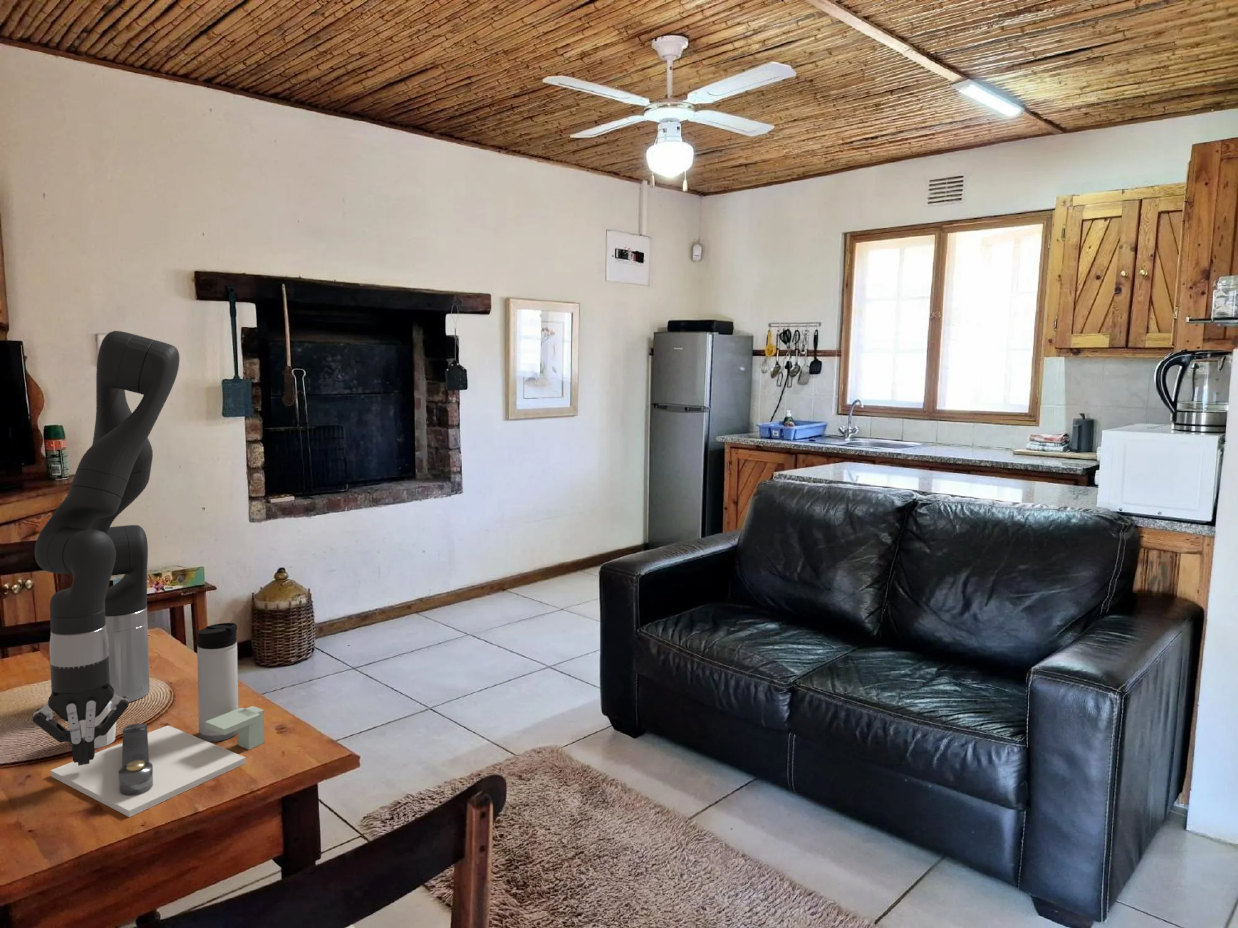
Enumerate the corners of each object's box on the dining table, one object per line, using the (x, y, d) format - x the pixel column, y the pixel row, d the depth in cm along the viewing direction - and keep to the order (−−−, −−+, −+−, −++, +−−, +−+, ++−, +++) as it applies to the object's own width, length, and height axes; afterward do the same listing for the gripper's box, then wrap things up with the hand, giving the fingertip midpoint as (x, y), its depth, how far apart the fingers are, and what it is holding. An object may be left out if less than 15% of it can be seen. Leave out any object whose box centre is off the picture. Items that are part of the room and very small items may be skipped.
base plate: (50, 776, 127) (50, 770, 127) (168, 730, 143) (168, 725, 143) (129, 817, 117) (129, 810, 117) (245, 763, 133) (245, 757, 133)
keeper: (205, 755, 135) (205, 721, 134) (249, 736, 142) (248, 704, 142) (224, 763, 133) (224, 729, 132) (268, 744, 140) (267, 711, 139)
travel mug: (224, 744, 139) (222, 632, 137) (190, 739, 140) (188, 628, 138) (247, 728, 145) (246, 621, 143) (215, 723, 147) (213, 617, 144)
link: (153, 790, 122) (152, 767, 121) (119, 797, 119) (118, 774, 119) (150, 738, 138) (149, 717, 137) (120, 743, 136) (119, 722, 135)
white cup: (113, 728, 143) (112, 691, 142) (124, 742, 138) (122, 703, 137) (67, 740, 138) (65, 701, 137) (76, 755, 134) (75, 714, 133)
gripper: (23, 671, 118) (29, 783, 120) (130, 657, 124) (133, 763, 127) (29, 654, 124) (34, 761, 126) (129, 642, 131) (133, 743, 133)
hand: (84, 762), depth 126 cm, fingers closed
